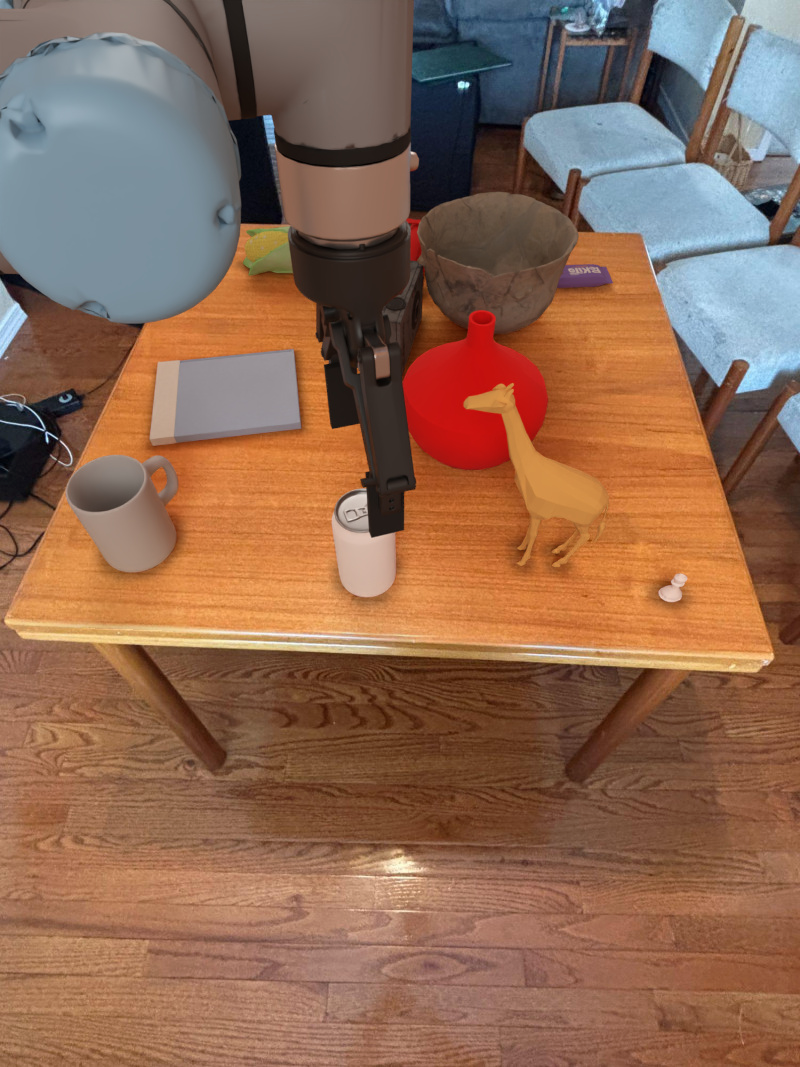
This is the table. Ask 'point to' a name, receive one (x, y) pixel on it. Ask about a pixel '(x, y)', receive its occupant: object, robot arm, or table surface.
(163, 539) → the mug
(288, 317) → the table surface
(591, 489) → the giraffe
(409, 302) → the camera
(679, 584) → the chess pawn
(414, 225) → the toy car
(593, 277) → the snack package
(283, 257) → the corn
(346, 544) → the can
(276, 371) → the blue flat rectangular slab
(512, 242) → the bowl
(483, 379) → the vase
